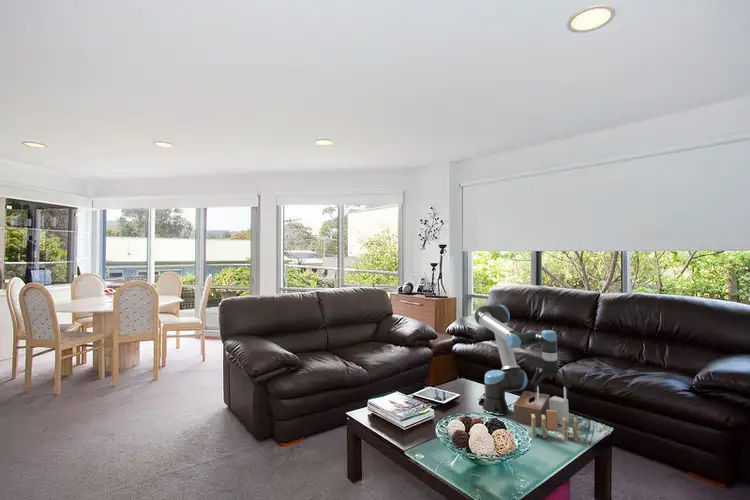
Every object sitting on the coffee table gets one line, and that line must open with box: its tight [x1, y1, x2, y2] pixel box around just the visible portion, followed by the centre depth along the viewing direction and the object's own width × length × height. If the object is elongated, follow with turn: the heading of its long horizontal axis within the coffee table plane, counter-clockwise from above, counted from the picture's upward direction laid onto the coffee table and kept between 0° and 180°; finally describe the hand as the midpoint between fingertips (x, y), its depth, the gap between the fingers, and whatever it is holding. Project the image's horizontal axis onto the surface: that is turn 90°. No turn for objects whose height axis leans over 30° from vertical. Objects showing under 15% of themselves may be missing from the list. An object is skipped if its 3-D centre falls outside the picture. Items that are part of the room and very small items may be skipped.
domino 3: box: [561, 416, 569, 441], centre depth 202 cm, size 2×5×10 cm, turn 164°
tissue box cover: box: [512, 390, 551, 428], centre depth 229 cm, size 26×14×10 cm, turn 146°
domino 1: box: [531, 414, 537, 438], centre depth 206 cm, size 2×5×10 cm, turn 164°
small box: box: [549, 395, 570, 426], centre depth 221 cm, size 8×6×13 cm
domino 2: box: [541, 415, 548, 439], centre depth 205 cm, size 2×5×10 cm, turn 164°
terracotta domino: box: [546, 410, 558, 431], centre depth 212 cm, size 2×5×10 cm, turn 74°
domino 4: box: [572, 416, 580, 442], centre depth 201 cm, size 2×5×10 cm, turn 164°
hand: (551, 399), depth 212 cm, fingers open, 13 cm apart
